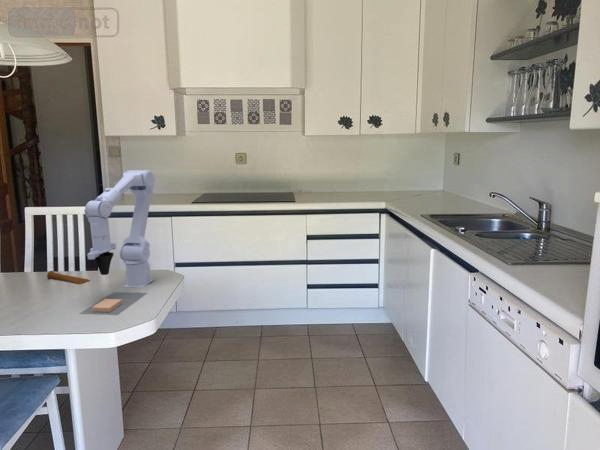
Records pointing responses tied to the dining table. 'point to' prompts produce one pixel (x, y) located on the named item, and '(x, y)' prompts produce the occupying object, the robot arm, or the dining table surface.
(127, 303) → the mat
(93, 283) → the dining table surface
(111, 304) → the tile
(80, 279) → the primitive tool
